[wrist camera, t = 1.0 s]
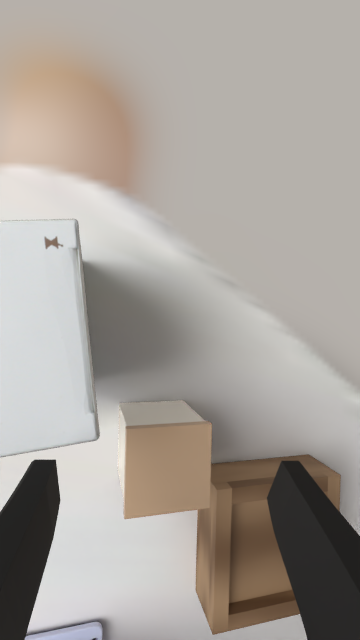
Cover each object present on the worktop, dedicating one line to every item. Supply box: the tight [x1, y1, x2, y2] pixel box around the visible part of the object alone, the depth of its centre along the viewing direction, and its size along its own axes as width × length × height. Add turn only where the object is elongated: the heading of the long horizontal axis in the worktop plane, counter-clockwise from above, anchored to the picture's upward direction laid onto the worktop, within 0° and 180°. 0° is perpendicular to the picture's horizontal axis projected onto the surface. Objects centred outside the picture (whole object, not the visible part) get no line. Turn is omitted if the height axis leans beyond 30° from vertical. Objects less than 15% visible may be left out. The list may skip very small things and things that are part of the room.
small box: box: [0, 219, 100, 457], centre depth 16 cm, size 8×6×10 cm
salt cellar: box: [118, 400, 212, 519], centre depth 20 cm, size 5×5×6 cm
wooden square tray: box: [196, 455, 341, 635], centre depth 24 cm, size 9×9×4 cm
